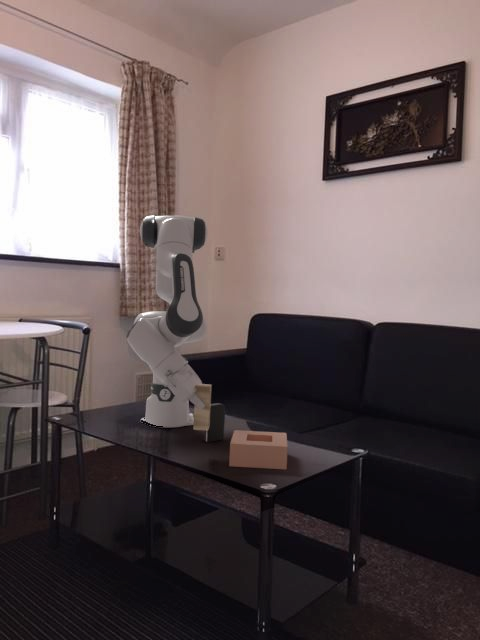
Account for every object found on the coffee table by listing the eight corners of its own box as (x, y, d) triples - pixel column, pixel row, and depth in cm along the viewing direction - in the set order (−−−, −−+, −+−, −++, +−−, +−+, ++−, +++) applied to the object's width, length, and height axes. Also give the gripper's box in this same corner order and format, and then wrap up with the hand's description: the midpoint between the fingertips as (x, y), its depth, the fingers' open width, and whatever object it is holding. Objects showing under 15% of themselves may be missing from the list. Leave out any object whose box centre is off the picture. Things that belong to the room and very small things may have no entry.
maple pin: (195, 425, 151) (197, 383, 151) (209, 426, 151) (211, 384, 150) (193, 429, 147) (195, 386, 147) (207, 430, 147) (209, 387, 146)
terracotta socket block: (233, 450, 156) (234, 430, 156) (285, 453, 155) (286, 432, 155) (229, 466, 141) (230, 443, 141) (286, 469, 140) (287, 446, 140)
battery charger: (216, 437, 171) (217, 401, 170) (224, 439, 168) (226, 403, 167) (199, 440, 166) (201, 403, 165) (207, 443, 163) (209, 405, 163)
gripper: (172, 366, 138) (208, 405, 138) (185, 356, 159) (217, 391, 158) (154, 382, 139) (190, 421, 139) (170, 370, 159) (201, 405, 159)
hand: (204, 405), depth 149 cm, fingers closed on maple pin, 4 cm apart
